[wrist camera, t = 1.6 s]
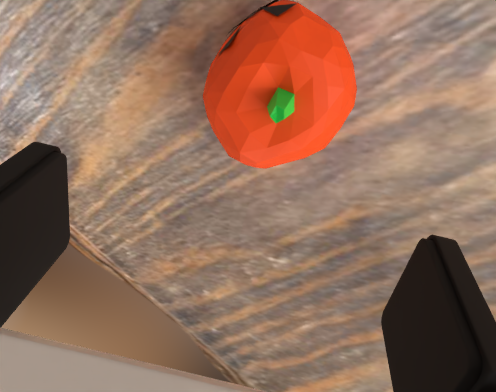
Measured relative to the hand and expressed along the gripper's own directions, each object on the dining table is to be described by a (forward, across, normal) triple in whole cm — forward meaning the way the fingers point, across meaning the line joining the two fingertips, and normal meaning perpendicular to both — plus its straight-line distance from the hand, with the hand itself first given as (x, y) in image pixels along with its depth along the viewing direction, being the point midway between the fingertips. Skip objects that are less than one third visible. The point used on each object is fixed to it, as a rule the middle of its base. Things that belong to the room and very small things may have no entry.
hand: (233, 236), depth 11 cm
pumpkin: (+14, 0, 0) cm, 14 cm away
